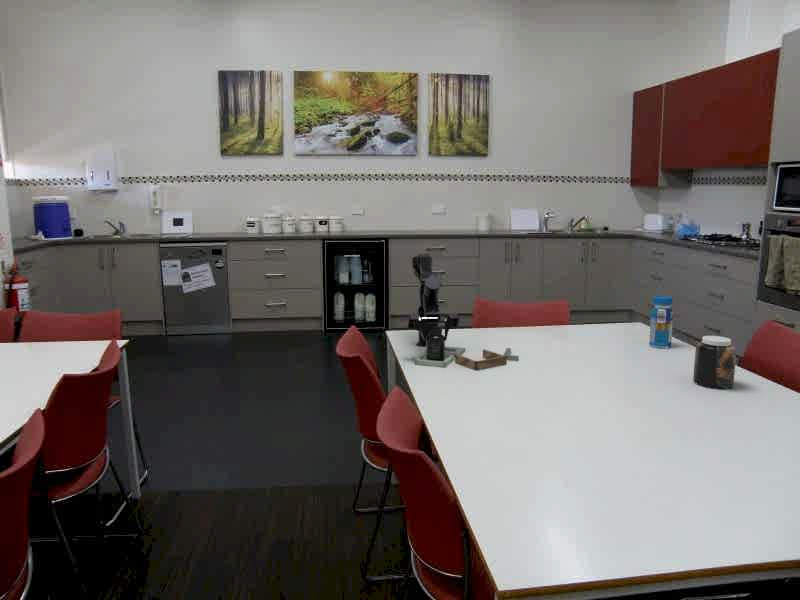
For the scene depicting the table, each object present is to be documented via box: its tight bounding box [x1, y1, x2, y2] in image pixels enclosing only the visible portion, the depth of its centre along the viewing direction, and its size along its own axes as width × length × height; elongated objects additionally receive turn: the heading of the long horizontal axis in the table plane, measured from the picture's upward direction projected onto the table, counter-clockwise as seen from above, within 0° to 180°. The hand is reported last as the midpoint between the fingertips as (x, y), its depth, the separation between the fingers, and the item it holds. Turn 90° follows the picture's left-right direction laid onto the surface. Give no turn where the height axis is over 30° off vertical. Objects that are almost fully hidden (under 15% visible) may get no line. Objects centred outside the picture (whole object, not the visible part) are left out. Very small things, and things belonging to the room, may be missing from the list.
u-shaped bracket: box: [454, 349, 508, 371], centre depth 233 cm, size 12×14×3 cm
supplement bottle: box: [425, 326, 446, 361], centre depth 234 cm, size 7×7×12 cm
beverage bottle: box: [648, 295, 674, 349], centre depth 255 cm, size 8×8×20 cm
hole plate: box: [445, 345, 467, 356], centre depth 248 cm, size 10×10×1 cm
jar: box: [692, 335, 737, 389], centre depth 207 cm, size 12×12×15 cm
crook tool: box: [503, 347, 520, 362], centre depth 243 cm, size 12×6×2 cm, turn 164°
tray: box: [414, 351, 455, 368], centre depth 236 cm, size 12×12×2 cm
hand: (435, 340), depth 233 cm, fingers open, 7 cm apart
